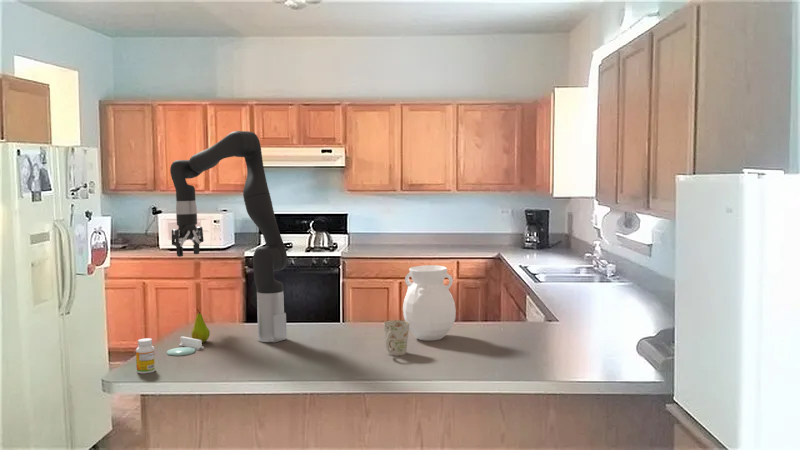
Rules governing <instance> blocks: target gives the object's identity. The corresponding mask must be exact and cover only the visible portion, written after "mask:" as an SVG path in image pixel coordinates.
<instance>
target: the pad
mask: <svg viewBox="0 0 800 450" xmlns="http://www.w3.org/2000/svg"><path fill="white" fill-rule="evenodd" d="M195 352H196V349H195V348H190V347H185V346H180V347H175V348H171V349H168V350H167V351H166V354H167V355H168V356H171V357H172V356H174V357H179V356H183V357H184V356H189V355H192V354H194V353H195Z"/></svg>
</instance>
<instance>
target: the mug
mask: <svg viewBox="0 0 800 450" xmlns="http://www.w3.org/2000/svg"><path fill="white" fill-rule="evenodd" d="M383 332H384V338H385V348H386V352H387V354H388V356H389V355H390V356H395V357H396V356H403V355H406V354H407V350H408V349H407V347H408V340H409V339H408V338H409V333H410V330H409V322H407V321H405V320H389V321H384V322H383Z"/></svg>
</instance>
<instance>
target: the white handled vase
mask: <svg viewBox="0 0 800 450" xmlns="http://www.w3.org/2000/svg"><path fill="white" fill-rule="evenodd" d="M408 271H409V272H408V273H407V274H406V275H405V276H404V277H405V278H404V281H405V284H406V286H407V290H406V294H405V297H404V299H403V302H402V303H403V305H402V314H403V319H404V320H403V321H407V322H409V332H411V333H412V335H413V336H414V337H415V338H416V339H417V340H420V341H430V342H431V341H439V340H442V339H444V337H446V335H447V334H448V333H449V332H450V331H451V330H452V328H453V326H454V324H455V321H456V315H457V314H456V313H457V311H456V309H457V308H456V303H455V300H454V297H453V294H452V293H451V291H450V288H451V287H452V285H453V282H454V279H453V276H452V275H450V274H449V273H448V268H447V267H446V266H443V265H436V264H428V265H427V264H426V265H425V264H424V265H418V266H411V267H410V268H409V269H408ZM410 278H411V279H410ZM445 278H446V279H448V281H449V282H448V284H446V285H445V283H444V281H445ZM410 280H412V281H410Z"/></svg>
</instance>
